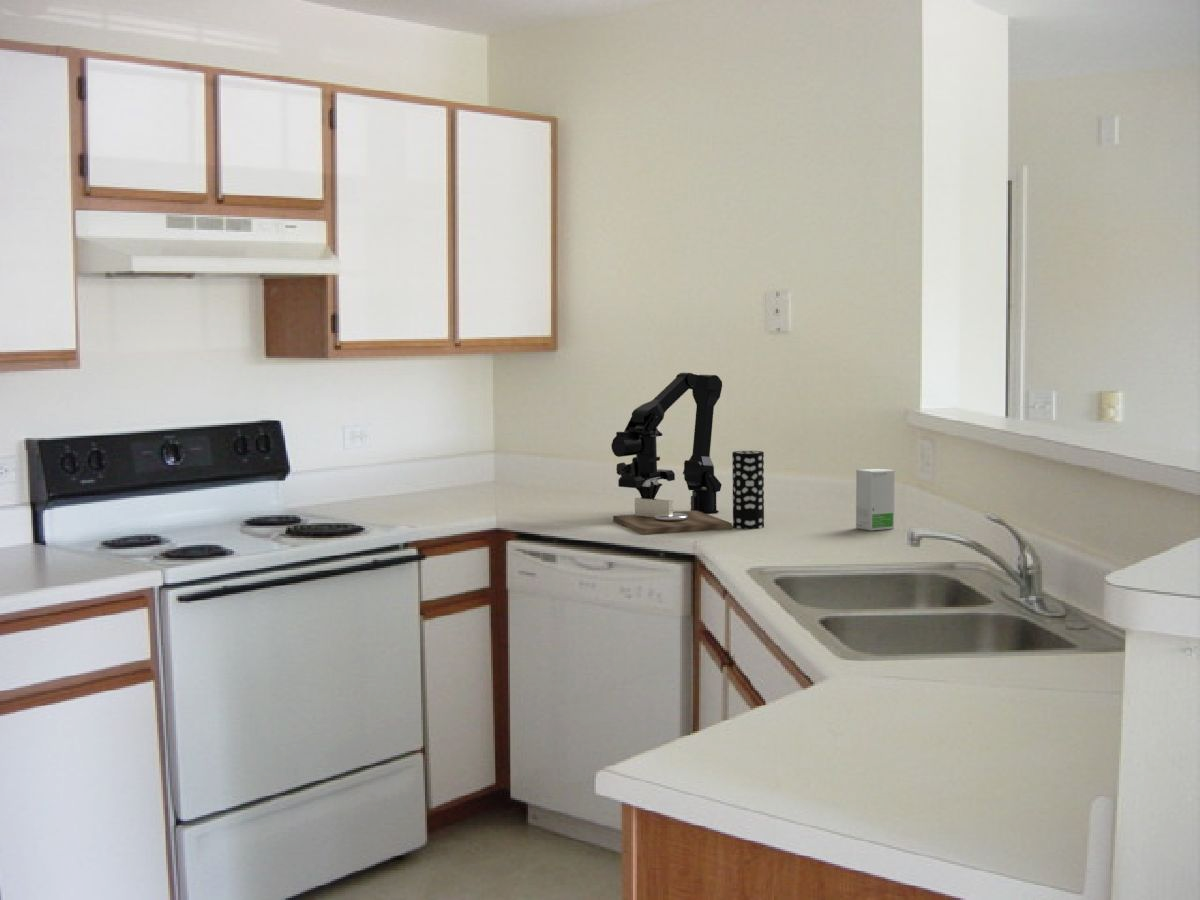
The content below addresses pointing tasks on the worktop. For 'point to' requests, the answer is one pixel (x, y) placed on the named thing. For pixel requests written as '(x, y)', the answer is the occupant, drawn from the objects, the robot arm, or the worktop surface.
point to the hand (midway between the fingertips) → (647, 509)
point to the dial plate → (672, 523)
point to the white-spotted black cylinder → (748, 489)
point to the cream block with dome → (657, 509)
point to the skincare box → (874, 499)
